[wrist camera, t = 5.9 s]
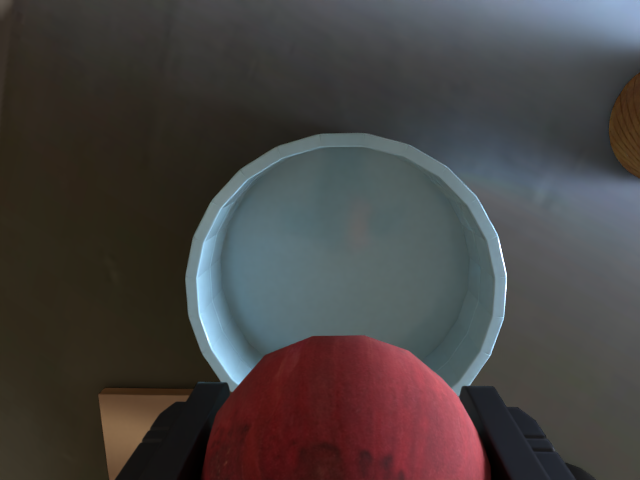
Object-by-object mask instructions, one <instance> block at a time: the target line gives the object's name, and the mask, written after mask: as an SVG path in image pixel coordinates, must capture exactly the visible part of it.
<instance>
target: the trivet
mask: <svg viewBox="0 0 640 480" xmlns="http://www.w3.org/2000/svg"><path fill="white" fill-rule="evenodd" d="M192 391H193V389H155V388H104V389H103V390H102V391H101V392H100V393H99V394H98V396H99V404H100V412H101V420H102V428H103V435H104V443H105V451H106V459H107V467H108V474H109V480H115V478H116V477H117V476H118V474H119V473H120V471H121V470H122V468H123V467H124V465H125V464H126V462H127V461H128V459H129V458H130V456H131V455H132V454H133V452H134V451H135V449H136V448H137V446H138V445H139V443H142V439H143V437H144V436H145V435H146V433H147V432H148V431H150V427H151V426H152V424H153V423H154V421H155V420H156V418H157V417H158V415H159V414H160V413H161V412H163V411H164V410H165V409H167V408H168V407H169V406H171V405H172V404H173V403H175V402H176V401H177V402H186V401H187V399H188V397H189V396H190V394H191V392H192ZM231 393H232V392H231V391H230V395H231Z"/></svg>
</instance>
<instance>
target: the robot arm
mask: <svg viewBox="0 0 640 480" xmlns="http://www.w3.org/2000/svg"><path fill="white" fill-rule="evenodd" d="M229 396H230V389H229V385H228V383H227V382H198V383H197V384H196V386H195V387H194V389H193V391H192V392H191V394H190V396H189V397H188V399H187V401H186V402H177V401H176V402H175V403H173V404H172V405H171V406H169V407H168V408H167V409H165V410H164V411H163V412H161V413H160V414H159V415H158V417H157V418H156V420H155V421H154V423H153V424H152V426H151V427H150V431H148V432H147V433H146V435H145V436H144V437H143V439H142V443H139V445H138V446H137V448H136V449H135V451H134V452H133V454H132V455H131V456H130V458H129V459H128V461H127V462H126V464H125V465H124V467H123V468H122V470H121V471H120V473H119V474H118V476H117V477H116V478H115V480H200V479H201V474H202V469H203V464H204V459H205V454H206V449H207V444H208V440H209V437H210V433H211V430H212V427H213V423H214V420H215V416H216V413H217V412H218V411H219V409H220V408H221V407H222V405H223V404H224V403H225V401H226V400H227V399H228V397H229ZM460 401H461V403H462V404H463V406H464V408H465V410H466V412H467V413H468V415H469V417H470V419H471V421H472V422H473V424H474V426H475V428H476V430H477V431H478V433H479V435H480V437H481V439H482V441H483V444H484V447H485V450H486V453H487V456H488V459H489V462H490V465H491V480H576V479H575V477H574V476H573V475H572V473H571V472H570V470H569V469H568V467H567V466H566V464H565V463H564V461H563V460H562V459H561V457H560V456H559V454H558V453H557V452H555V448H554V447H553V445H552V444H551V443H550V441H549V440H548V439H546V435H545V434H544V432H543V431H542V429H541V428H540V427H539V425H538V424H537V422H536V421H535V420H534V419H533V418H531V417H530V416H529V415H527V414H526V413H525V412H523V411H522V410H521V409H519V408H518V407H506V405H505V404H504V402H503V400H502V399H501V397H500V396H499V394H498V392H497V391H496V389H495V388H494V387H493V386H462V388H461V391H460Z"/></svg>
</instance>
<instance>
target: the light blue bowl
mask: <svg viewBox="0 0 640 480" xmlns="http://www.w3.org/2000/svg"><path fill="white" fill-rule="evenodd" d="M506 276H507V274H506V270H505V265H504V260H503V256H502V251H501V246H500V242H499V237H498V235H497V232H496V230H495V229H494V227H493V225H492V223H491V221H490V219H489V217H488V216H487V214H486V212H485V210H484V208H483V206H482V204H481V203H480V201H479V199H478V198H477V196H476V195H475V194H474V193H473V192H472V191H471V190H470V189H469V188H468V187H467V186H466V185H465V184H464V183H463V182H462V181H461V180H460V179H459V178H458V177H457V176H456V175H455V174H454V173H453V172H452V171H451V170H450V169H449V168H448V167H447V166H446V165H444V164H442V163H441V162H439V161H437V160H435V159H434V158H432V157H430V156H428V155H427V154H425V153H423V152H422V151H420V150H418V149H416V148H415V147H413V146H411V145H408V144H407V143H403V142H399V141H395V140H391V139H387V138H383V137H379V136H375V135H371V134H367V133H365V134H364V133H325V134H320V135H319V134H316V135H313V136H310V137H306V138H303V139H299V140H296V141H293V142H289V143H286V144H283V145H279V146H277V147H275V148H273V149H271V150H270V151H268V152H267V153H265V154H263V155H262V156H260V157H259V158H257V159H255V160H254V161H252V162H251V163H249V164H247V165H246V166H244V167H243V168H241V169H240V170H239V171H238V172H237V173H236V174H235V175H234V176H233V177H232V178H231V179H230V180H229V182H228V183H227V184H226V185H225V186H224V187H223V188H222V189H221V190H220V191H219V192H218V194H217V195H216V196H215V197H214V198H213V199H212V201H211V202H210V204H209V206H208V208H207V210H206V212H205V214H204V216H203V218H202V220H201V222H200V224H199V226H198V228H197V230H196V232H195V234H194V236H193V239H192V243H191V249H190V254H189V259H188V264H187V269H186V275H185V283H186V295H187V308H188V316H189V320H190V322H191V325H192V328H193V331H194V334H195V336H196V339H197V342H198V345H199V348H200V350H201V352H202V355H203V356H204V358H205V359H206V360H207V362H208V363H209V365H210V366H211V368H212V369H213V371H214V372H215V374H216V375H217V377H218V378H219V379H220V381H221V382H227V383H228V385H229V389H230V391H231V392H233V391H234V390H235V389H236V387H237V386H238V385H239V384H240V383H241V382H242V381H243V379H244V378H245V377H246V376H247V375H248V374H249V373H250V371H251V370H252V369H253V368H254V367H255V366H256V365H257V363H258V362H259V361H260V360H261V359H262V358H263V357H264V355H266V354H269V353H271V352H274V351H276V350H279V349H281V348H284V347H286V346H289V345H291V344H294V343H296V342H299V341H301V340H304V339H306V338H309V337H311V336H345V335H365V336H368V337H371V338H374V339H377V340H379V341H382V342H385V343H388V344H391V345H394V346H397V347H400V348H402V349H405V350H408V351H410V352H411V353H412V354H413V355H415V356H416V357H417V358H418V359H419V360H421V361H422V362H423V363H424V364H425V365H427V366H428V367H429V368H430V369H431V370H433V371H434V372H435V373H436V374H437V375H439V376H440V377H441V378H442V379H443V380H444V381H445V382H446V383H447V384H448V385H449V387H450V388H451V389H452V390H453V391H454V392H455V393H456V394H457V395H458V396H459V395H460V391H461V388H462V386H469V385H470V384H471V382H472V381H473V379H474V378H475V377H476V375H477V374H478V372H479V371H480V370H481V368H482V367H483V365H484V364H485V362H486V361H487V360H488V358H489V357H490V355H491V352H492V350H493V347H494V344H495V341H496V339H497V336H498V333H499V330H500V327H501V325H502V322H503V319H504V313H505V298H506V284H507V277H506Z"/></svg>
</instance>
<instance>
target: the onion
mask: <svg viewBox="0 0 640 480" xmlns="http://www.w3.org/2000/svg"><path fill="white" fill-rule="evenodd" d="M200 480H491V465H490V462H489V459H488V456H487V453H486V450H485V447H484V444H483V441H482V439H481V437H480V435H479V433H478V431H477V430H476V428H475V426H474V424H473V422H472V421H471V419H470V417H469V415H468V413H467V412H466V410H465V408H464V406H463V404H462V403H461V401H460V399H459V397H458V395H457V394H456V393H455V392H454V391H453V390H452V389H451V388H450V387H449V385H448V384H447V383H446V382H445V381H444V380H443V379H442V378H441V377H440V376H439V375H437V374H436V373H435V372H434V371H433V370H431V369H430V368H429V367H428V366H427V365H425V364H424V363H423V362H422V361H421V360H419V359H418V358H417V357H416V356H415V355H413V354H412V353H411V352H410V351H408V350H405V349H402V348H400V347H397V346H394V345H391V344H388V343H385V342H382V341H379V340H377V339H374V338H371V337H368V336H365V335H345V336H311V337H309V338H306V339H304V340H301V341H299V342H296V343H294V344H291V345H289V346H286V347H284V348H281V349H279V350H276V351H274V352H271V353H269V354H266V355H264V357H263V358H262V359H261V360H260V361H259V362H258V363H257V365H256V366H255V367H254V368H253V369H252V370H251V371H250V373H249V374H248V375H247V376H246V377H245V378H244V379H243V381H242V382H241V383H240V384H239V385H238V386H237V387H236V389H235V390H234V391H233V392H232V393H231V395H230V396H229V397H228V399H227V400H226V401H225V403H224V404H223V405H222V407H221V408H220V409H219V411H218V412H217V413H216V416H215V420H214V423H213V427H212V430H211V433H210V437H209V440H208V444H207V449H206V454H205V459H204V464H203V469H202V474H201V479H200Z"/></svg>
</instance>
